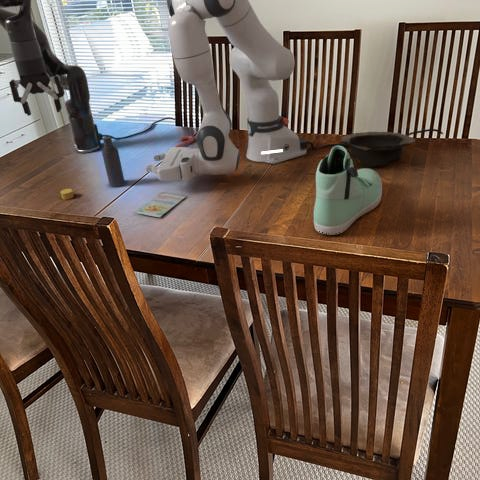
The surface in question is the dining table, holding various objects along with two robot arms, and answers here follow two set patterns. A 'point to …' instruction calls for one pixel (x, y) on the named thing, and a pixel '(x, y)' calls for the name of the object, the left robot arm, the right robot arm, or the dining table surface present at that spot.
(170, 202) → the baking ingredient package
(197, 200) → the dining table surface
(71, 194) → the cap
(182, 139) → the candy cane
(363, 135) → the stone bowl
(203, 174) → the right robot arm
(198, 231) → the dining table surface
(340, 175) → the sneaker
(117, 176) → the bottle
